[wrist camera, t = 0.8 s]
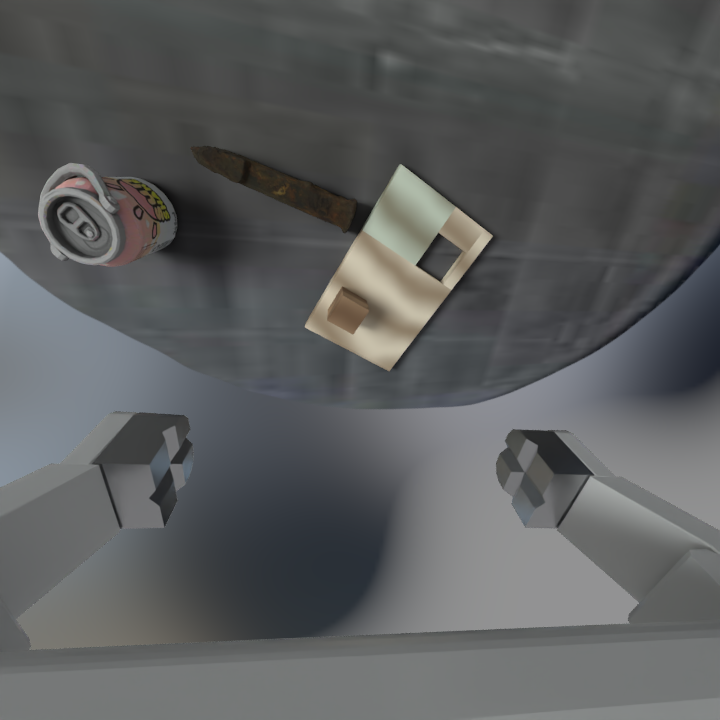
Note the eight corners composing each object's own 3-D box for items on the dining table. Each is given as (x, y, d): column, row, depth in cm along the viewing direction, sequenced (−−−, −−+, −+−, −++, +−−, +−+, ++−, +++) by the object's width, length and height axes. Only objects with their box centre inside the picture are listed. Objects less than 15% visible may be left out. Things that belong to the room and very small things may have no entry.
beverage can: (83, 198, 39) (-8, 206, 28) (130, 150, 37) (50, 140, 26) (150, 262, 43) (91, 290, 32) (195, 222, 41) (148, 238, 30)
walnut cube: (342, 286, 45) (342, 295, 41) (366, 300, 46) (369, 310, 42) (327, 309, 46) (327, 320, 43) (351, 323, 47) (353, 334, 44)
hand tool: (358, 200, 41) (361, 203, 37) (346, 231, 43) (347, 237, 39) (204, 122, 36) (187, 115, 32) (196, 161, 38) (180, 159, 34)
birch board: (399, 164, 39) (401, 164, 38) (488, 234, 44) (493, 235, 43) (305, 323, 49) (304, 327, 47) (387, 366, 53) (389, 371, 52)
